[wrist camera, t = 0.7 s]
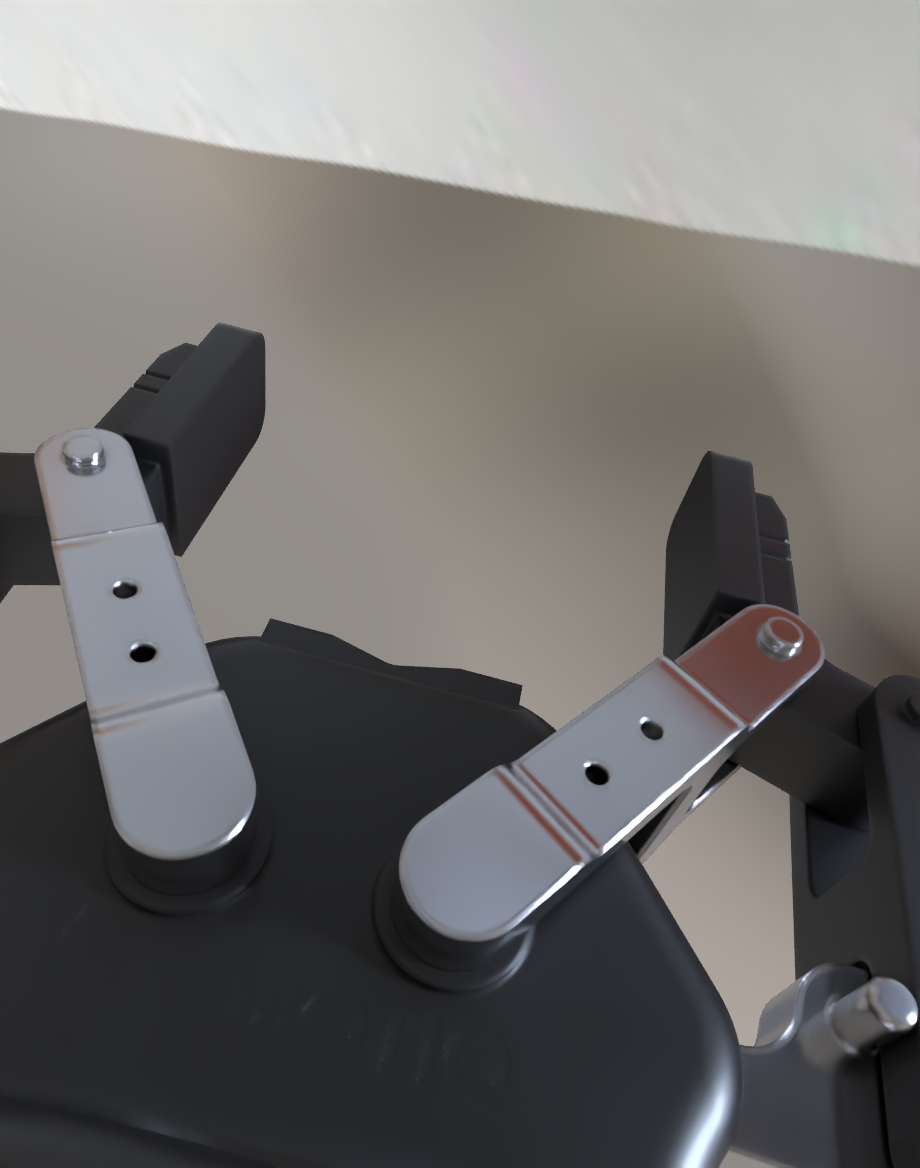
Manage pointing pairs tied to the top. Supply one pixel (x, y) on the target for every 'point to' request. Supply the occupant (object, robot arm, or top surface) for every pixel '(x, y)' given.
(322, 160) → the top surface
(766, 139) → the top surface
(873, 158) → the top surface
